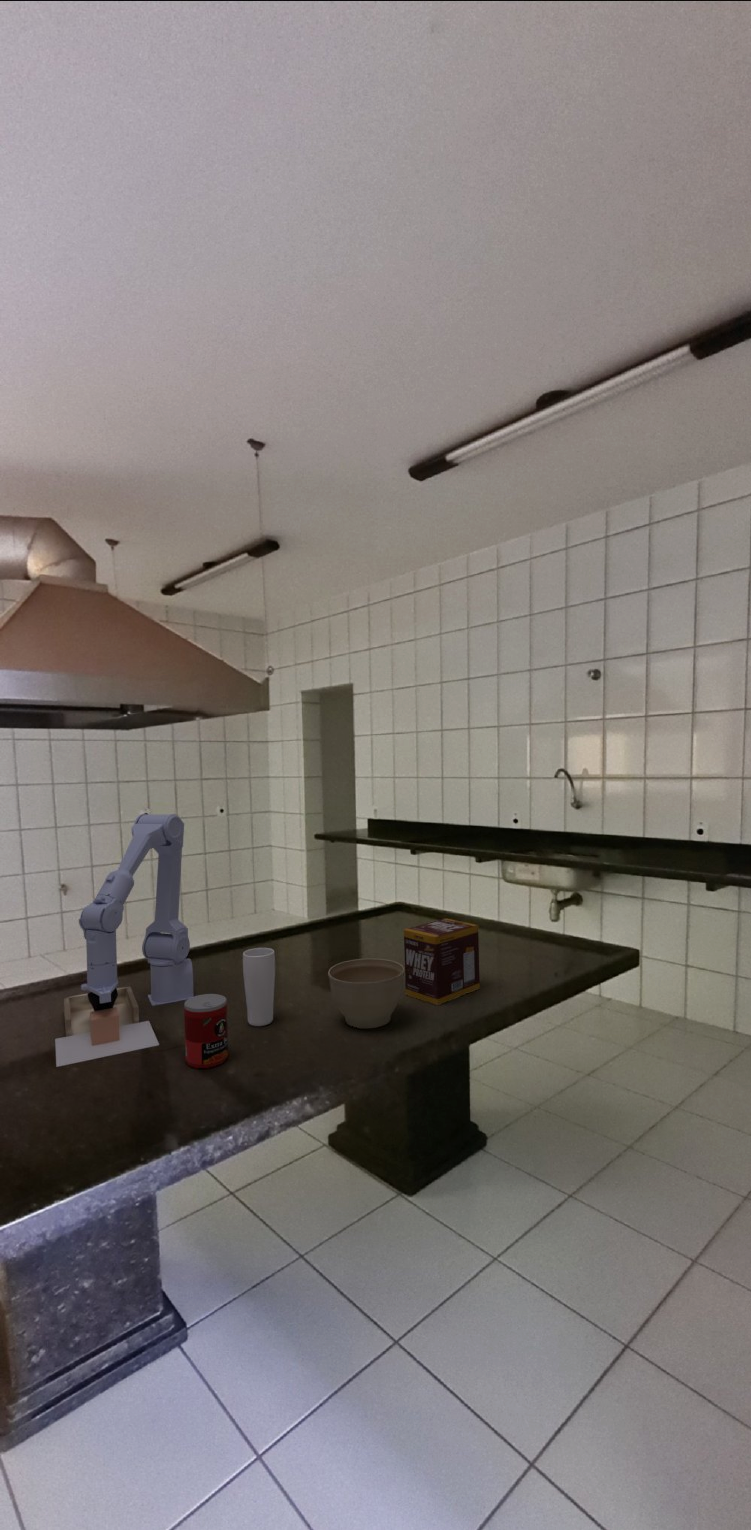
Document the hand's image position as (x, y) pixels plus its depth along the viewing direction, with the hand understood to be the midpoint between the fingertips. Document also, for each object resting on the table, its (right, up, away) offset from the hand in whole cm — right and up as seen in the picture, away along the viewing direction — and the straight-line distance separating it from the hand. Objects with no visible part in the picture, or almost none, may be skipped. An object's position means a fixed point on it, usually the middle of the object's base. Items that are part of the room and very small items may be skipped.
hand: (103, 1027), depth 133 cm
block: (+2, -1, -4) cm, 4 cm away
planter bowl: (+55, 0, +3) cm, 55 cm away
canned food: (+25, -1, -13) cm, 28 cm away
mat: (+3, -1, -5) cm, 6 cm away
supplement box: (+72, 0, +19) cm, 75 cm away
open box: (-4, -2, +7) cm, 8 cm away
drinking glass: (+32, -1, +4) cm, 32 cm away
